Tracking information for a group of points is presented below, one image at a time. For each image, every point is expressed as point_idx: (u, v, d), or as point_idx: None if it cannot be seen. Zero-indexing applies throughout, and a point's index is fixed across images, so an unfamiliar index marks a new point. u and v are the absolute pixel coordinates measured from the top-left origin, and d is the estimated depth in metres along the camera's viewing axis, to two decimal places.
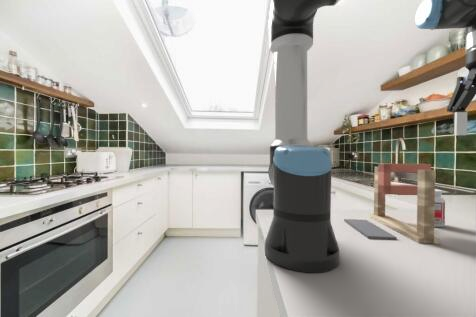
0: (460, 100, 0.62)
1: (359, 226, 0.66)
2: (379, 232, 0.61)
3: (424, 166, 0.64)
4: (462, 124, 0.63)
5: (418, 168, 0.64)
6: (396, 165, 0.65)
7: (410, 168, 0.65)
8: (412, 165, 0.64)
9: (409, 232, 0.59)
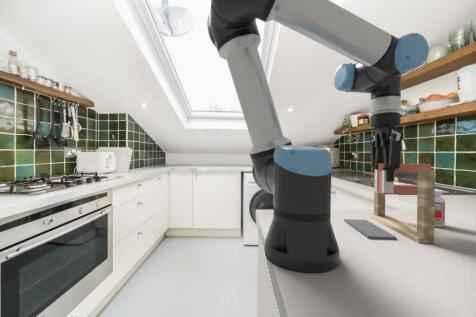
0: (376, 157, 0.69)
1: (359, 226, 0.66)
2: (379, 232, 0.61)
3: (424, 166, 0.64)
4: None
5: (418, 168, 0.64)
6: None
7: (410, 168, 0.65)
8: (412, 165, 0.64)
9: (409, 232, 0.59)
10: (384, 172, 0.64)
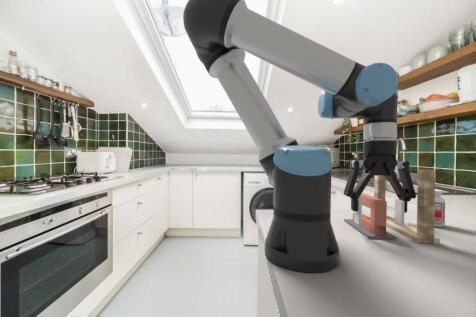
0: (363, 187, 0.58)
1: (359, 226, 0.66)
2: None
3: None
4: None
5: None
6: None
7: None
8: None
9: (409, 232, 0.59)
10: None
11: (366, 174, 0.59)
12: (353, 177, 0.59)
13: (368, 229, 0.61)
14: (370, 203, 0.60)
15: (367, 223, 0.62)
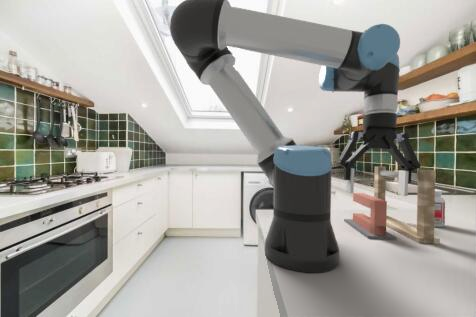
0: (358, 157, 0.58)
1: (359, 226, 0.66)
2: None
3: None
4: None
5: None
6: None
7: None
8: None
9: (409, 232, 0.59)
10: None
11: (363, 145, 0.59)
12: (349, 147, 0.59)
13: (368, 229, 0.61)
14: (370, 203, 0.60)
15: (367, 223, 0.62)
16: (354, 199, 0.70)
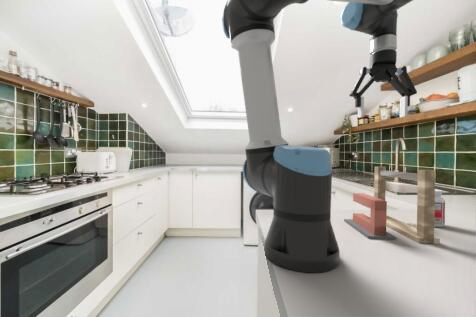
0: (366, 87, 0.73)
1: (359, 226, 0.66)
2: None
3: None
4: None
5: None
6: None
7: None
8: None
9: (409, 232, 0.59)
10: None
11: (371, 78, 0.74)
12: (359, 79, 0.74)
13: (368, 229, 0.61)
14: (370, 203, 0.60)
15: (367, 223, 0.62)
16: (354, 199, 0.70)
